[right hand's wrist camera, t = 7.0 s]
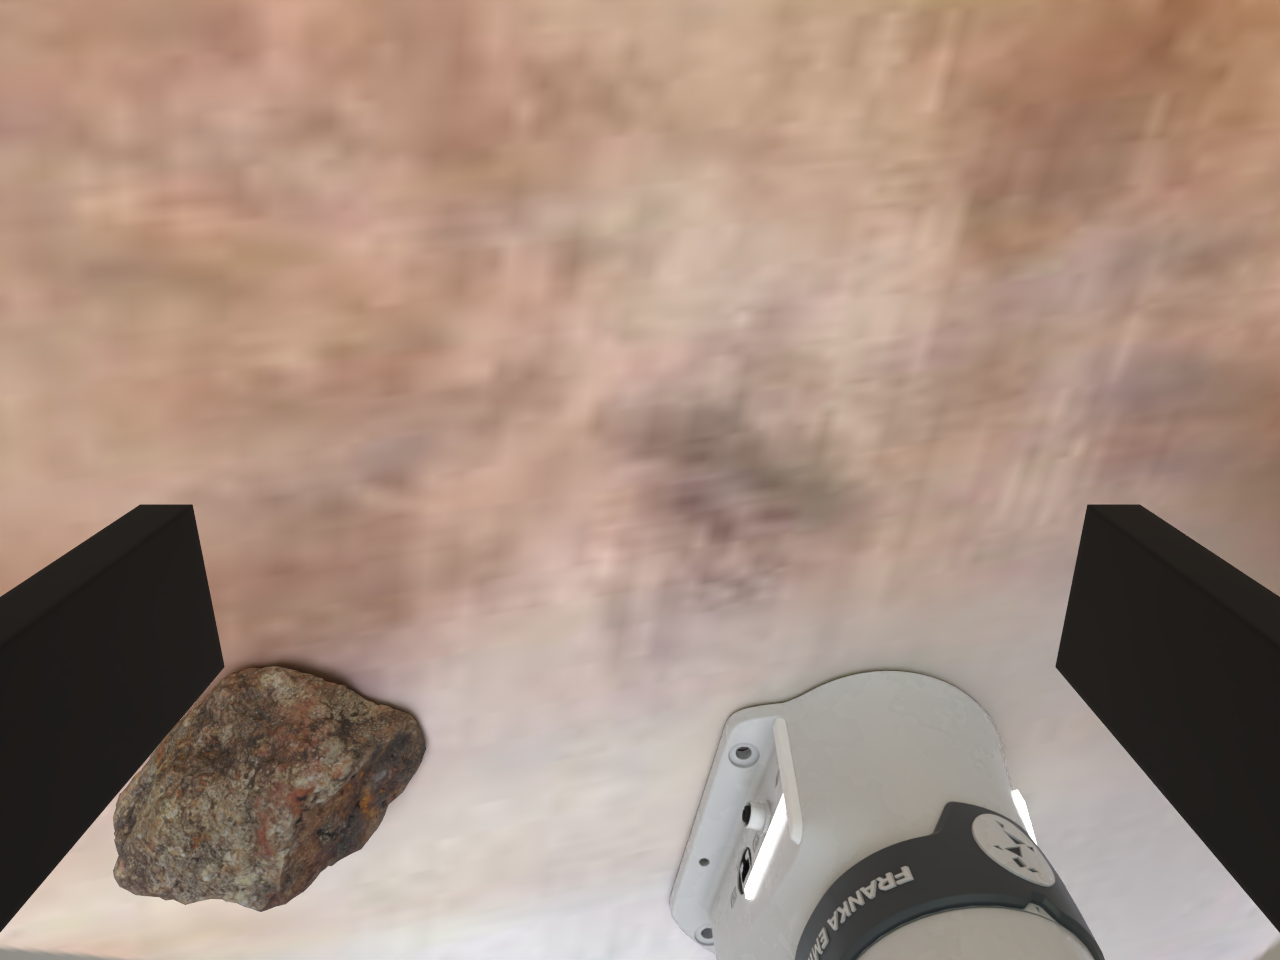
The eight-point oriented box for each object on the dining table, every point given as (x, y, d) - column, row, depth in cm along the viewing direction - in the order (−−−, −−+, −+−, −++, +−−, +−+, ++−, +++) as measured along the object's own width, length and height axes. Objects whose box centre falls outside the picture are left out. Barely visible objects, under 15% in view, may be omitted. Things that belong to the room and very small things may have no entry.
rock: (401, 825, 50) (442, 691, 47) (368, 953, 42) (416, 803, 39) (146, 773, 47) (171, 627, 44) (60, 900, 39) (83, 733, 36)
